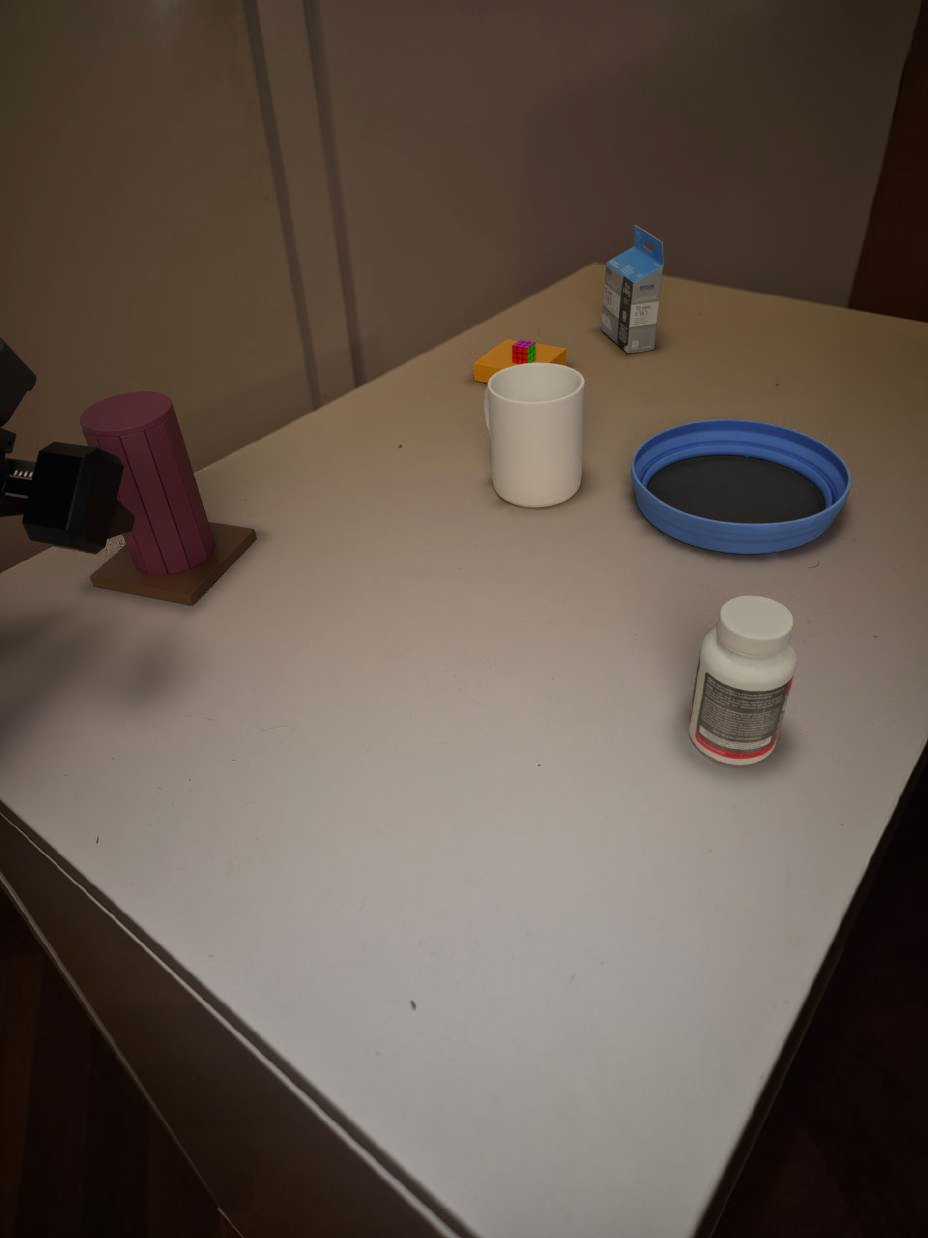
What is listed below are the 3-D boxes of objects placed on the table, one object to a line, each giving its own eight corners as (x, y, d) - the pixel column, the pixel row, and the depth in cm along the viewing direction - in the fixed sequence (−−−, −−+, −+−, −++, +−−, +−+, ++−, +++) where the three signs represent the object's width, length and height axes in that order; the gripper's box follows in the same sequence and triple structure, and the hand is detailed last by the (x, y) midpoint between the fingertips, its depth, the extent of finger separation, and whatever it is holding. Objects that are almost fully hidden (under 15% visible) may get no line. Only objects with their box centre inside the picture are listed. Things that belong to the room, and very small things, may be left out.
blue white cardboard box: (599, 330, 107) (604, 227, 99) (629, 325, 107) (636, 223, 100) (626, 355, 100) (633, 247, 92) (657, 350, 101) (667, 242, 93)
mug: (454, 468, 81) (446, 366, 75) (523, 442, 85) (521, 342, 78) (526, 520, 73) (524, 411, 67) (600, 490, 76) (604, 383, 70)
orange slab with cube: (473, 380, 97) (471, 345, 94) (507, 356, 102) (506, 321, 99) (534, 392, 93) (534, 355, 91) (566, 366, 99) (567, 330, 96)
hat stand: (192, 605, 67) (171, 542, 63) (92, 586, 70) (66, 524, 66) (257, 538, 74) (241, 477, 70) (164, 522, 77) (143, 464, 73)
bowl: (587, 499, 75) (588, 464, 73) (718, 434, 83) (722, 401, 81) (751, 589, 64) (758, 551, 62) (885, 503, 72) (896, 467, 69)
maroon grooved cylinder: (220, 561, 70) (177, 417, 61) (137, 583, 68) (81, 438, 60) (208, 521, 75) (166, 384, 66) (130, 541, 73) (77, 402, 65)
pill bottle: (792, 757, 51) (826, 636, 45) (710, 776, 50) (733, 656, 44) (749, 697, 55) (775, 579, 49) (673, 714, 54) (690, 596, 48)
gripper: (41, 317, 43) (213, 421, 58) (-207, 297, 49) (7, 396, 64) (-10, 525, 43) (177, 576, 57) (-255, 480, 48) (-27, 537, 63)
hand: (80, 514), depth 60 cm, fingers open, 9 cm apart
